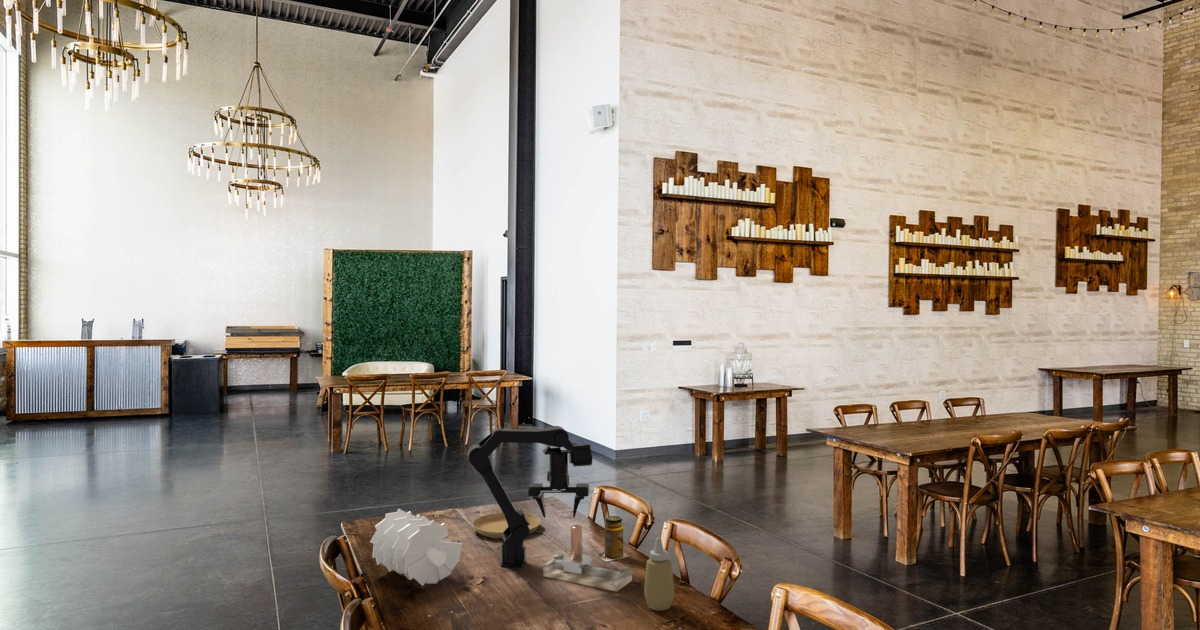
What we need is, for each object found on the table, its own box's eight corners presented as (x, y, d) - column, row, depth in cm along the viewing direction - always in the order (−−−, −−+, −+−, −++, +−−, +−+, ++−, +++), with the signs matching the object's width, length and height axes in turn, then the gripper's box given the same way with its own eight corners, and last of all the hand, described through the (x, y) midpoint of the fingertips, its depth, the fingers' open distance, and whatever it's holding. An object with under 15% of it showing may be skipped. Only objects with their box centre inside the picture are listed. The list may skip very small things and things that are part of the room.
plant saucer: (549, 522, 264) (549, 513, 264) (528, 543, 241) (528, 533, 241) (487, 519, 269) (487, 510, 269) (461, 539, 246) (461, 529, 246)
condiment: (629, 556, 226) (628, 518, 226) (606, 562, 222) (606, 523, 221) (615, 550, 232) (615, 513, 232) (593, 555, 228) (593, 517, 228)
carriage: (561, 572, 209) (561, 528, 208) (574, 564, 215) (573, 522, 215) (579, 575, 206) (578, 531, 206) (591, 568, 212) (591, 525, 212)
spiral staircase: (426, 605, 201) (379, 578, 218) (473, 562, 212) (424, 540, 229) (402, 554, 194) (355, 530, 211) (451, 513, 206) (403, 494, 223)
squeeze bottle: (641, 601, 192) (641, 533, 192) (671, 599, 193) (671, 532, 192) (646, 614, 184) (645, 543, 184) (677, 612, 185) (676, 542, 184)
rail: (541, 575, 211) (541, 562, 211) (557, 565, 219) (557, 553, 219) (619, 592, 198) (619, 578, 198) (634, 581, 206) (634, 567, 206)
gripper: (590, 461, 232) (591, 510, 232) (532, 461, 233) (533, 510, 233) (587, 469, 221) (588, 520, 221) (527, 469, 222) (528, 520, 222)
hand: (559, 517), depth 225 cm, fingers open, 9 cm apart
